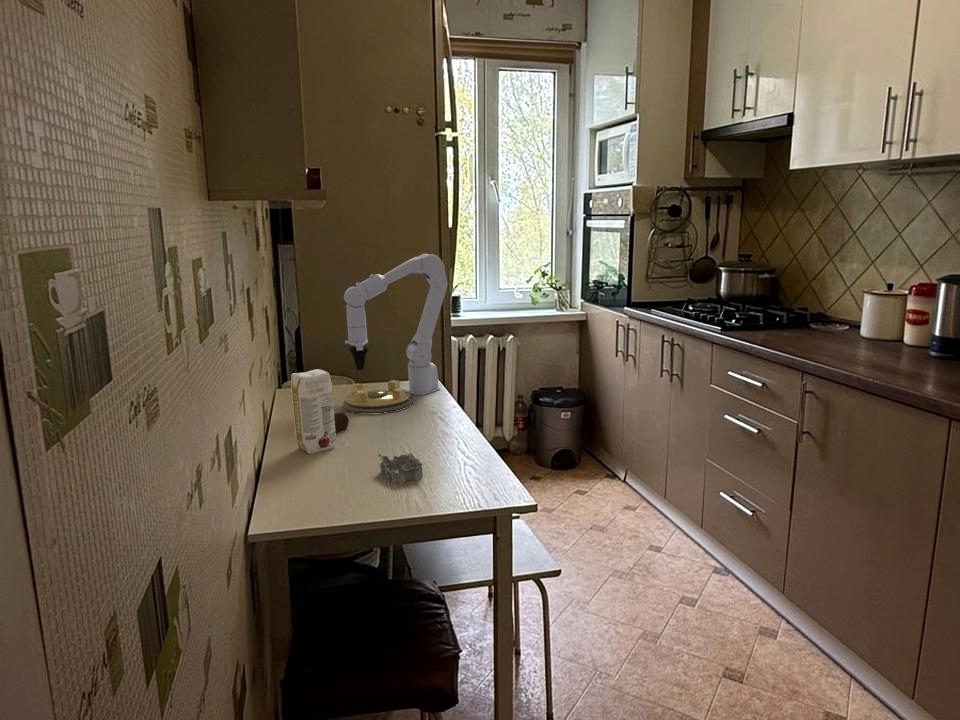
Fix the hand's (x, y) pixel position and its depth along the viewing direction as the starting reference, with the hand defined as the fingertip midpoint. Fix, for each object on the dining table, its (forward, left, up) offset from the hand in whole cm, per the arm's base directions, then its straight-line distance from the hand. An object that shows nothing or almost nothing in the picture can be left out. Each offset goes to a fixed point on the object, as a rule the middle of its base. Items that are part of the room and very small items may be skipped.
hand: (360, 369), depth 207 cm
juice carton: (+39, +26, -10) cm, 48 cm away
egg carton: (+41, +56, -10) cm, 70 cm away
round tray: (+2, +10, -8) cm, 13 cm away
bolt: (+26, +13, -10) cm, 31 cm away
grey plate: (+2, +10, -9) cm, 14 cm away
